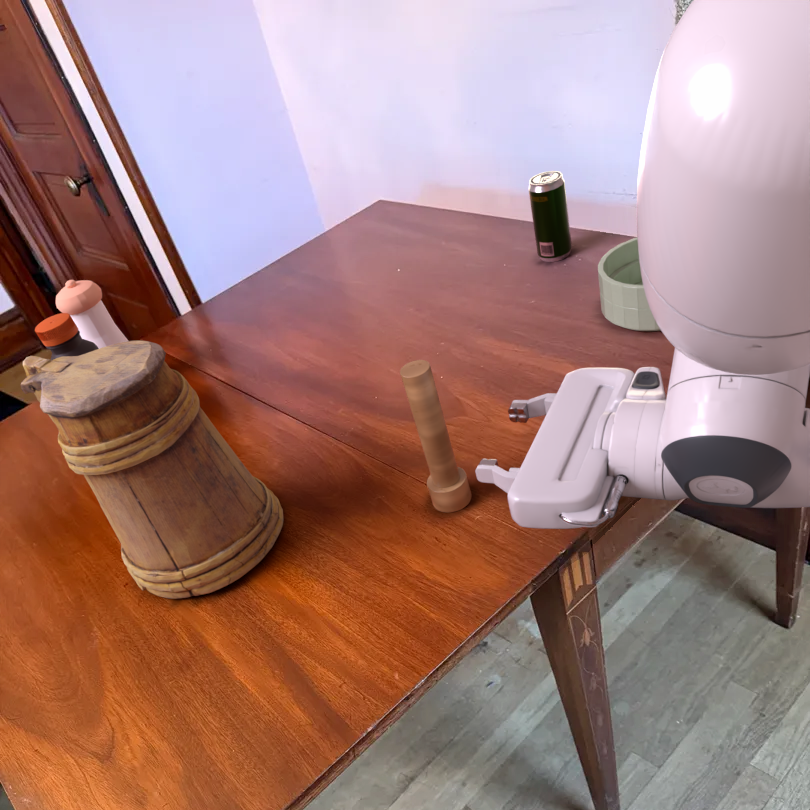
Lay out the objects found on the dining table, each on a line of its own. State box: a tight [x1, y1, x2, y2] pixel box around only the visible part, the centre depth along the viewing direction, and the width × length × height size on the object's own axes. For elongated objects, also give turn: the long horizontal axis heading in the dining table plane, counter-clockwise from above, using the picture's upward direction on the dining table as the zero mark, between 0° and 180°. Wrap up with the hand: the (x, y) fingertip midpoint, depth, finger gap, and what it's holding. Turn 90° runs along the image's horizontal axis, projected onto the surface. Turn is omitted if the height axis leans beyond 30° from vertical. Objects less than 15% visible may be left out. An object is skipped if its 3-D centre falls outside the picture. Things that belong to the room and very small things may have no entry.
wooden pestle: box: [399, 359, 473, 514], centre depth 77 cm, size 4×4×17 cm
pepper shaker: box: [55, 279, 129, 349], centre depth 118 cm, size 7×7×19 cm
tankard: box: [20, 340, 285, 600], centre depth 81 cm, size 18×24×25 cm
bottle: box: [34, 312, 99, 360], centre depth 105 cm, size 7×7×20 cm
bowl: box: [597, 236, 662, 332], centre depth 99 cm, size 15×15×6 cm
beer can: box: [528, 170, 573, 263], centre depth 115 cm, size 5×5×12 cm
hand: (495, 439), depth 74 cm, fingers open, 8 cm apart
